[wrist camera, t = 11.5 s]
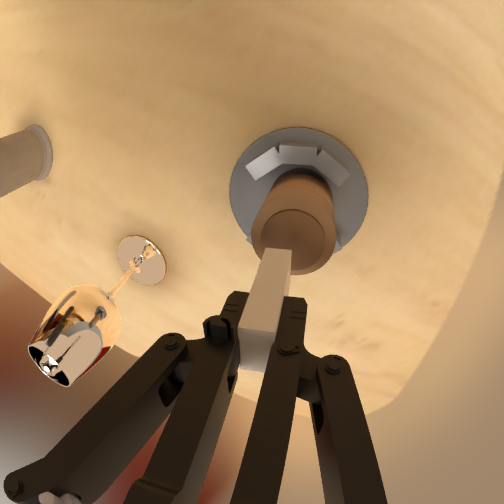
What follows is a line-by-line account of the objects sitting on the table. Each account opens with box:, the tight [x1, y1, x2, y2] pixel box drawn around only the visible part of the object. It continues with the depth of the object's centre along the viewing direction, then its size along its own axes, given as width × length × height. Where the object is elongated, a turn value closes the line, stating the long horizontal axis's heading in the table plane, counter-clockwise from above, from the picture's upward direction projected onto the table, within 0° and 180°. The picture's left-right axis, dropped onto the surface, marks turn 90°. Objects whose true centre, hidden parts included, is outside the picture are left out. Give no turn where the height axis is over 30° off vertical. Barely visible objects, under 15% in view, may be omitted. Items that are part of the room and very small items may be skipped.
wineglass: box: [28, 236, 166, 387], centre depth 30 cm, size 8×8×20 cm
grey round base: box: [229, 128, 368, 253], centre depth 29 cm, size 14×14×4 cm
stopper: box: [251, 168, 336, 275], centre depth 25 cm, size 6×6×10 cm
